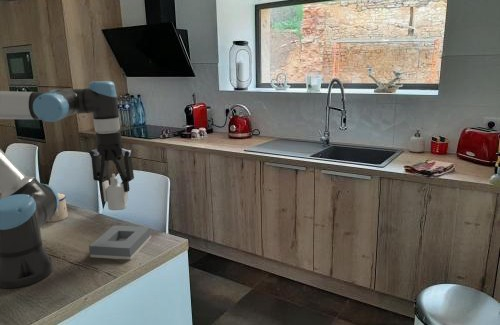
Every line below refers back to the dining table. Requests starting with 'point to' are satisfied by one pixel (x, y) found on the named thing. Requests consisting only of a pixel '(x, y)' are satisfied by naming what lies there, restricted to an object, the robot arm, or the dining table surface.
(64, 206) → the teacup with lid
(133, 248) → the hole block
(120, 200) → the eye dropper bottle
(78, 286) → the dining table surface
